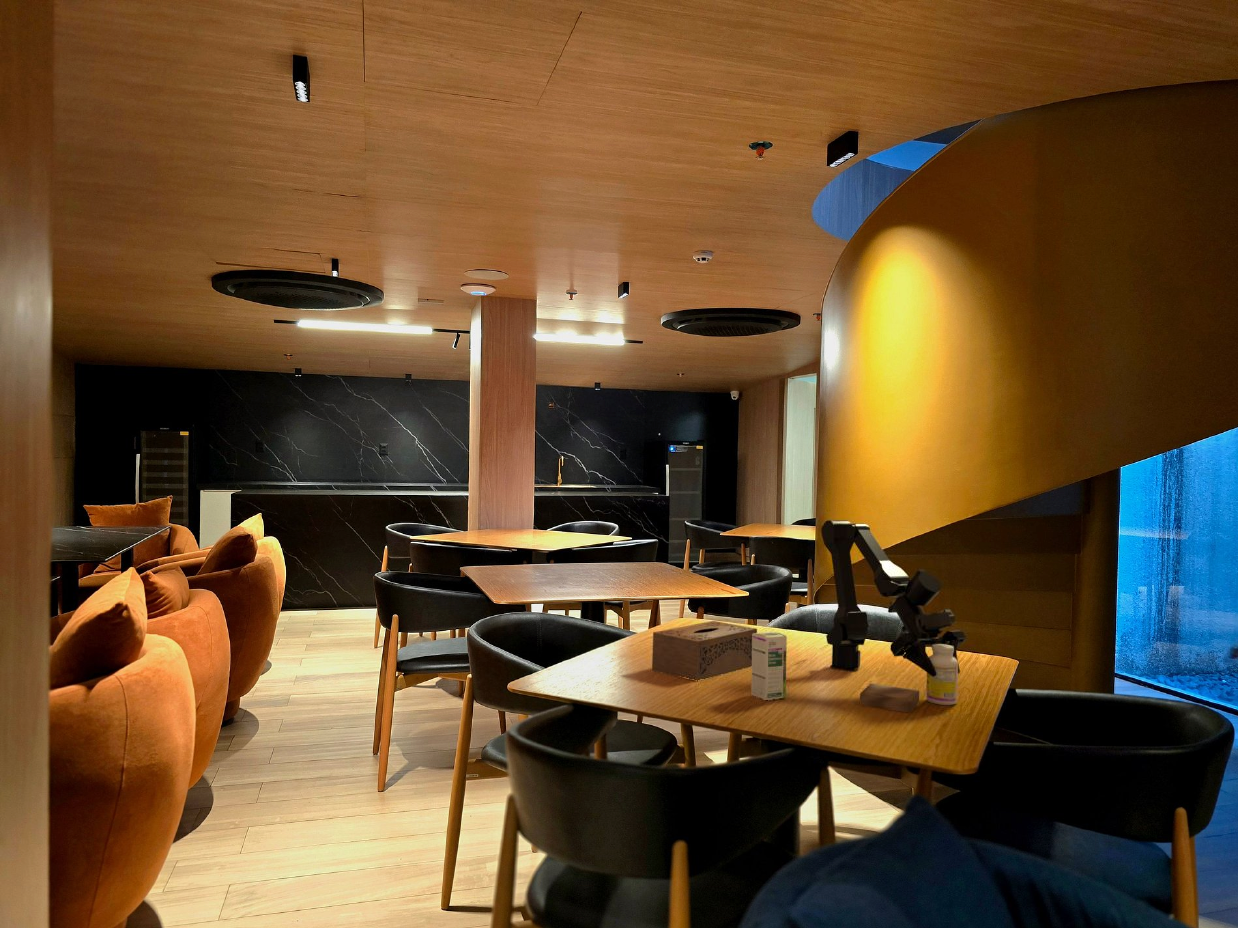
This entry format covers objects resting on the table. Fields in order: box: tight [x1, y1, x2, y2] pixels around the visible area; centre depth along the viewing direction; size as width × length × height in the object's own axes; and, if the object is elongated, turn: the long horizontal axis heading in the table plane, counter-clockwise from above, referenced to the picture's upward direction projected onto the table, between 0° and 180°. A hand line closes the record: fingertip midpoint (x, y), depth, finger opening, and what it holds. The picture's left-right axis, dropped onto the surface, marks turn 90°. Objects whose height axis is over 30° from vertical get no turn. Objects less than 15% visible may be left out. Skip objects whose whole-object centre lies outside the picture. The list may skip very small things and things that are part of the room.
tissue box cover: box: [651, 620, 758, 682], centre depth 221 cm, size 26×14×10 cm, turn 138°
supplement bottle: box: [925, 644, 959, 706], centre depth 194 cm, size 7×7×13 cm
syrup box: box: [750, 631, 788, 701], centre depth 194 cm, size 6×6×14 cm
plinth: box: [859, 682, 920, 714], centre depth 192 cm, size 11×11×3 cm
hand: (946, 674), depth 193 cm, fingers closed on supplement bottle, 7 cm apart
